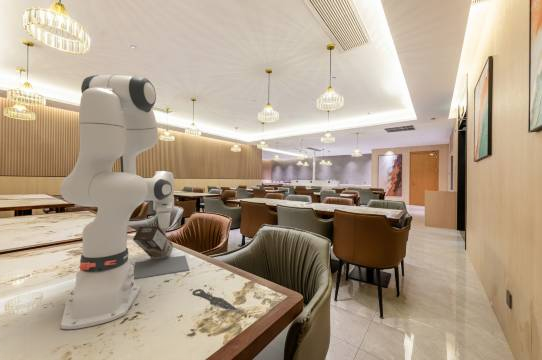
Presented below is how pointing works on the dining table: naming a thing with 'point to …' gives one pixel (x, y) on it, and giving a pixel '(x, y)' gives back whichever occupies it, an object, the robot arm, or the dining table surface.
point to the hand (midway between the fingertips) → (163, 234)
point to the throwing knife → (215, 300)
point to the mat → (160, 267)
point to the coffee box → (153, 242)
